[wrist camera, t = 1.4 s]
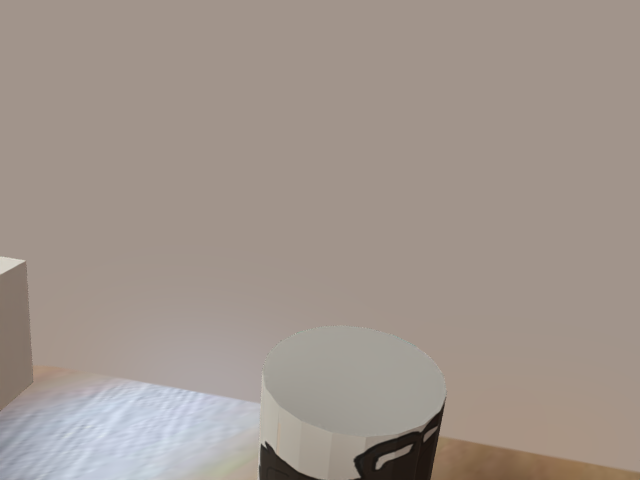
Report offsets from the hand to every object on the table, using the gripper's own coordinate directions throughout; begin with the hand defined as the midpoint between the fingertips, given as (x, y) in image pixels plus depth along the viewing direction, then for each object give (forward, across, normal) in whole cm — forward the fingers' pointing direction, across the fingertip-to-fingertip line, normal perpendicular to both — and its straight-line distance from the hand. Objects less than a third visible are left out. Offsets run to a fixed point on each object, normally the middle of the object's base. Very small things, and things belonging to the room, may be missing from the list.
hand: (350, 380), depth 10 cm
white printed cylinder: (+9, +1, -20) cm, 22 cm away
